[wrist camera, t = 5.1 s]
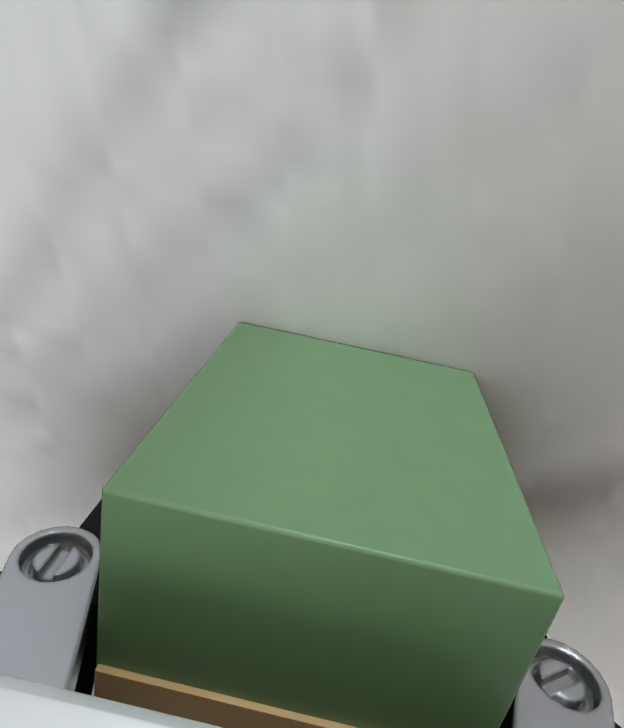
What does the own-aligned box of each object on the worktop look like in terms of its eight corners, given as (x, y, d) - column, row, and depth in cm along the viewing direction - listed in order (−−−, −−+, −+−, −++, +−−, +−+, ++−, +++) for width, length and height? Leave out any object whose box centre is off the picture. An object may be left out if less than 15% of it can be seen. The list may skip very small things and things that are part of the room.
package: (474, 371, 11) (570, 604, 5) (392, 616, 14) (400, 940, 8) (239, 321, 11) (95, 493, 6) (204, 571, 14) (84, 857, 8)
